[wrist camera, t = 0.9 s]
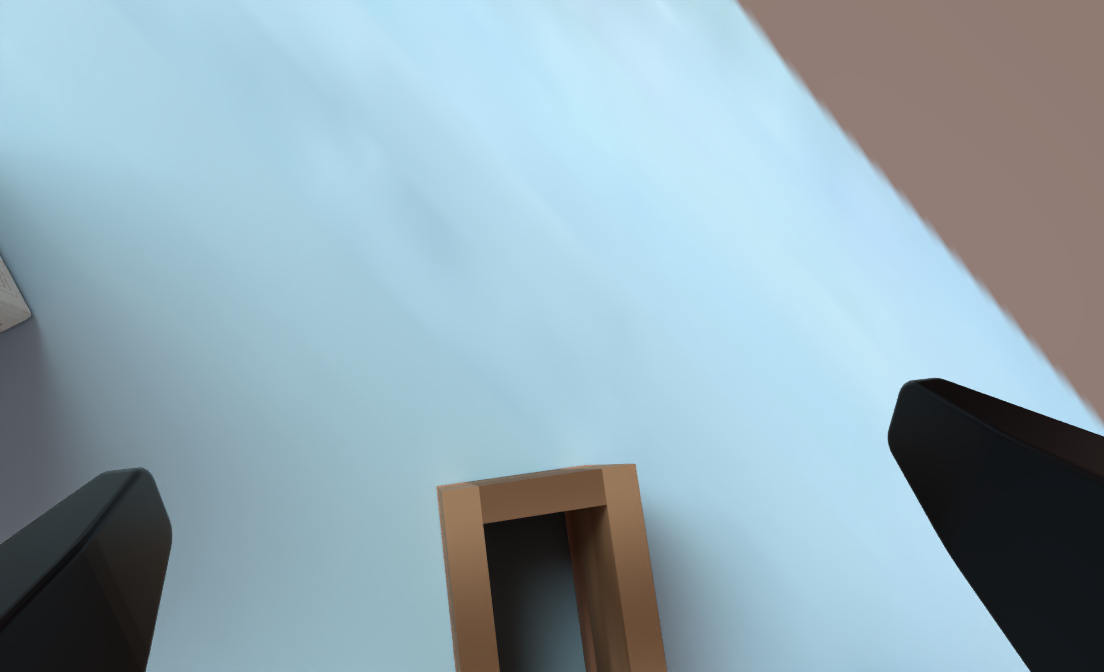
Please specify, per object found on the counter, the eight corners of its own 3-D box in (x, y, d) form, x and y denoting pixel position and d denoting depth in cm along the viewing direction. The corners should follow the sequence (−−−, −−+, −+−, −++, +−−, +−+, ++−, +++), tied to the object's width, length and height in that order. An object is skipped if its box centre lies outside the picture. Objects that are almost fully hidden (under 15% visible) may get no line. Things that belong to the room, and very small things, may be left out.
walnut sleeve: (619, 707, 19) (684, 786, 15) (463, 742, 18) (478, 837, 14) (584, 465, 20) (635, 463, 16) (436, 486, 20) (441, 491, 15)
